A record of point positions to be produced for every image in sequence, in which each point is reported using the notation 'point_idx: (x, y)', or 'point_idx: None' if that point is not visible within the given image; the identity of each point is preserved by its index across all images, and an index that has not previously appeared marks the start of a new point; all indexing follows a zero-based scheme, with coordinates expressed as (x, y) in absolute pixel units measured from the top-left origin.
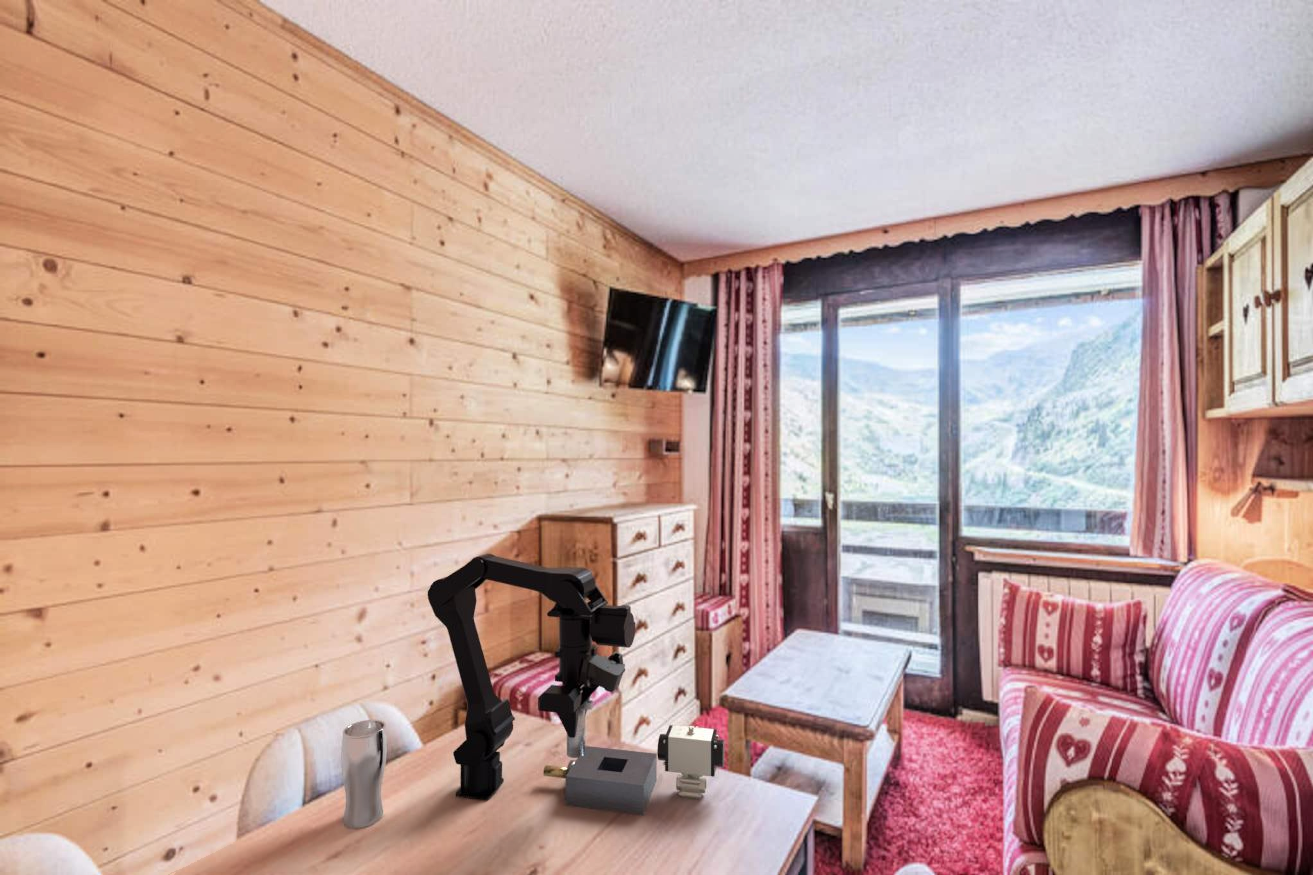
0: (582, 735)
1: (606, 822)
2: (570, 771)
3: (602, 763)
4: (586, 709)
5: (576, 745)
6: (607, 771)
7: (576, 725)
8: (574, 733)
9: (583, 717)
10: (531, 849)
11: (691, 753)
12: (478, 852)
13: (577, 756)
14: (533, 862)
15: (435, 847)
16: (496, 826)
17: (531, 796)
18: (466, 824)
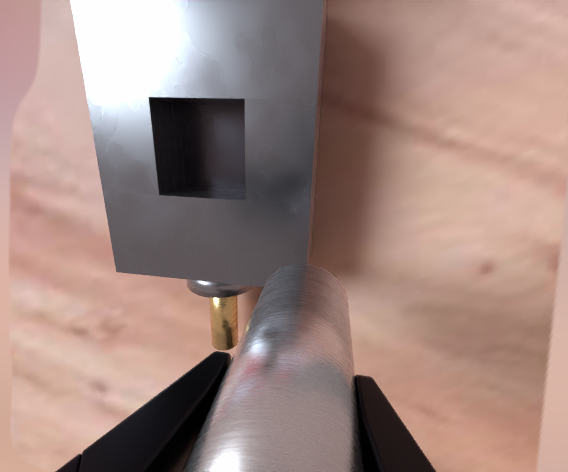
0: (323, 332)
1: (374, 128)
2: None
3: (185, 194)
4: (122, 450)
5: (348, 328)
6: (249, 158)
7: (401, 457)
8: (386, 403)
9: (301, 452)
10: (496, 287)
11: None
12: (503, 385)
13: (343, 291)
14: (550, 271)
15: (482, 455)
16: (408, 375)
17: None
18: (405, 425)
